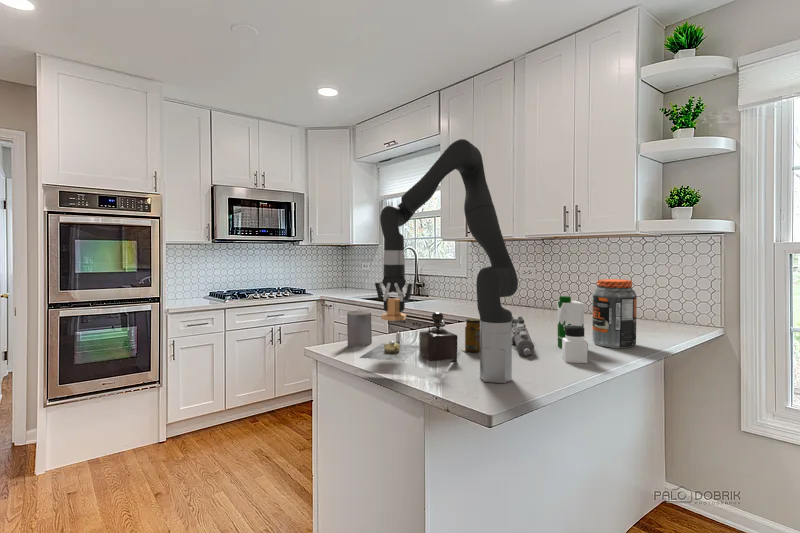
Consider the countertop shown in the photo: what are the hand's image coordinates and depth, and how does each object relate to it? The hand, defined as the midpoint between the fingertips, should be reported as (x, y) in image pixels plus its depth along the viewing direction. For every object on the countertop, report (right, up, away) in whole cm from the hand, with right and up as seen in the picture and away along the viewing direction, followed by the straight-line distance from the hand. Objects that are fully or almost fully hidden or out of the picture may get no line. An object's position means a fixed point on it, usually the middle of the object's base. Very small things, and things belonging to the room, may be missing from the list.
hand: (394, 311), depth 153 cm
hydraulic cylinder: (+49, -16, +16) cm, 54 cm away
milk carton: (+68, -16, +14) cm, 71 cm away
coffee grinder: (+16, -17, -5) cm, 24 cm away
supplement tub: (+87, -16, +20) cm, 91 cm away
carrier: (-1, -16, +6) cm, 17 cm away
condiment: (+30, -16, +10) cm, 35 cm away
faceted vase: (0, -3, 0) cm, 3 cm away
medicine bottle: (+62, -17, -5) cm, 64 cm away
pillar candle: (-14, -16, +20) cm, 30 cm away
